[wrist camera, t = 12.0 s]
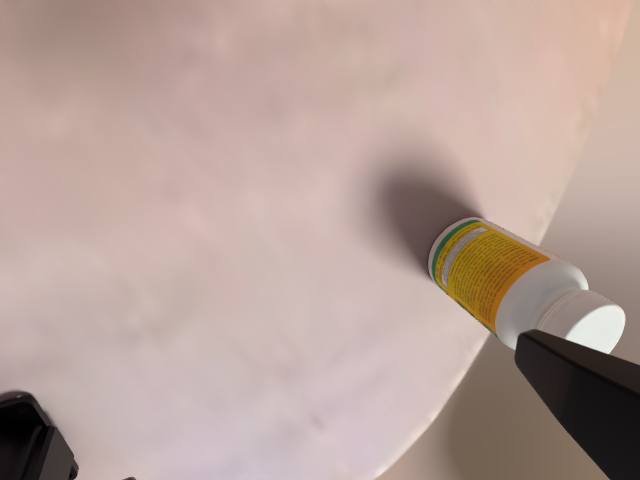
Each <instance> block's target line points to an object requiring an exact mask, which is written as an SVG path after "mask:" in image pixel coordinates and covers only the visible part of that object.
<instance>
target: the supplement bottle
mask: <svg viewBox="0 0 640 480" xmlns="http://www.w3.org/2000/svg"><path fill="white" fill-rule="evenodd" d="M428 269H429V273H430V276H431V278H432V280H433V281H434V283H435V284H436V285H437V286H438V287H440V288H441V289H442V290H443V291H444V292H445V293H446V294H447V295H448V296H450V297H451V298H452V299H453V300H454V301H456V302H457V303H458V304H459V305H460V306H461V307H462V308H464V309H465V310H466V311H467V312H468V313H470V314H471V315H472V316H473V317H474V318H475V319H476V320H478V321H479V322H480V323H481V324H482V325H483V326H484V327H486V328H487V329H488V330H489V331H490V332H491V333H492V334H494V335H495V336H496V337H497V338H498V339H499V340H501V341H502V342H503V343H504V344H506V345H507V346H508V347H510V348H512V349H514V350H515V349H516V343H517V337H518V335H519V334H520V333H522V332H525V331H527V330H530V329H538V330H541V331H544V332H546V333H549V334H552V335H555V336H558V337H561V338H564V339H567V340H569V341H572V342H575V343H578V344H581V345H584V346H587V347H589V348H592V349H595V350H598V351H601V352H604V353H607V354H609V353H610V352H611V350H612V349H613V348H614V346H615V345H616V344H617V342H618V340H619V338H620V336H621V334H622V332H623V329H624V325H625V314H624V312H623V310H622V309H621V308H620V307H619V306H618V305H616V304H615V303H613V302H611V301H610V300H608V299H606V298H604V297H603V296H601V295H600V294H599V293H596V292H593V291H589V290H588V284H587V281H586V278H585V277H584V275H583V274H582V272H581V271H580V270H579V269H578V268H577V267H575V266H574V265H573V264H571V263H569V262H567V261H565V260H564V259H562V258H560V257H558V256H556V255H554V254H552V253H550V252H548V251H546V250H544V249H542V248H540V247H538V246H536V245H534V244H532V243H530V242H528V241H526V240H524V239H522V238H520V237H518V236H517V235H515V234H513V233H511V232H509V231H507V230H505V229H503V228H502V227H500V226H498V225H496V224H494V223H492V222H490V221H488V220H485V219H482V218H477V217H471V218H465V219H462V220H460V221H457V222H456V223H454V224H452V225H451V226H449V227H448V228H446V229H445V230H444V231H443V232H442V233H441V234H440V235H439V236H438V238H437V239H436V240H435V242H434V244H433V246H432V248H431V251H430V254H429V260H428Z"/></svg>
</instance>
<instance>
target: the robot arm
mask: <svg viewBox="0 0 640 480" xmlns="http://www.w3.org/2000/svg"><path fill="white" fill-rule="evenodd" d="M514 359H515V363H516V365H517V367H518V369H519V370H520V371H521V373H522V374H523V375H524V376H525V378H526V379H527V380H528V382H529V383H530V385H531V386H532V387H533V388H534V390H535V391H536V392H537V394H538V395H539V396H540V398H541V399H542V401H543V402H544V403H545V404H546V406H547V407H548V409H549V410H550V411H551V413H552V414H553V415H554V416H555V418H556V419H557V420H558V421H559V423H560V424H561V425H562V426H563V427H564V429H565V430H566V431H567V432H568V433H569V434H570V435H571V437H572V438H573V439H574V440H575V441H576V442H577V443H578V444H579V445H580V447H581V448H582V449H583V450H584V451H585V452H586V453H587V454H588V456H589V457H590V458H591V459H592V460H593V461H594V462H595V463H596V464H597V466H598V467H599V468H600V469H601V470H602V471H603V472H604V473H605V475H606V476H607V477H608V478H609V479H610V480H640V365H638V364H635V363H632V362H629V361H627V360H623V359H621V358H618V357H615V356H612V355H609V354H607V353H604V352H601V351H598V350H595V349H592V348H589V347H587V346H584V345H581V344H578V343H575V342H572V341H569V340H567V339H564V338H561V337H558V336H555V335H552V334H549V333H546V332H544V331H541V330H538V329H530V330H527V331H525V332H522V333H520V334H519V335H518V337H517V343H516V349H515V356H514ZM21 406H27V407H21ZM73 458H74V454H73V453H72V451H71V449H70V448H69V446H68V445H67V443H66V441H65V440H64V438H63V437H62V435H61V434H60V432H59V430H58V429H57V427H55V426H54V425H52V424H51V423H50V421H49V420H48V418H47V416H46V415H45V413H44V412H43V410H42V409H41V407H40V405H39V404H38V402H37V401H36V400H35V399H34V398H33V397H30V396H22V397H18V398H15V399H12V400H8V401H5V402H2V403H0V480H74V479H75V478H76V477H77V474H78V470H79V467H78V465H77V463H76V462H75V460H74V459H73ZM123 480H136V479H135V478H134V477H129V478H126V479H123Z"/></svg>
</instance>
